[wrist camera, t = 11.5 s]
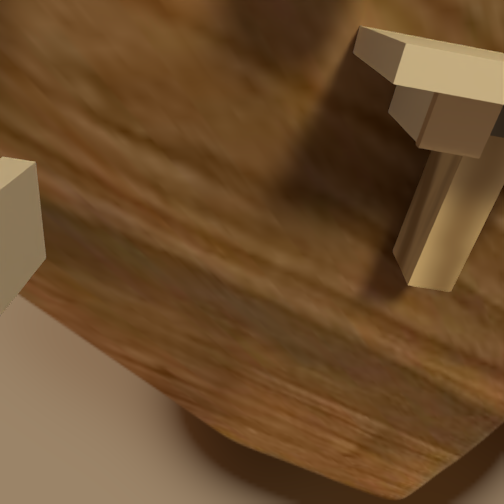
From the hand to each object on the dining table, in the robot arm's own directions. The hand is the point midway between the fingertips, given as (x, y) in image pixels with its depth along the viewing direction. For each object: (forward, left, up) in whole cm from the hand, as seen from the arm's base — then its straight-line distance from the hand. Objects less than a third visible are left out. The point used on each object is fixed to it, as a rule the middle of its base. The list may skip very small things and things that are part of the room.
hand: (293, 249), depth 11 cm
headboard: (+15, +1, -29) cm, 33 cm away
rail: (+17, -7, -29) cm, 34 cm away
